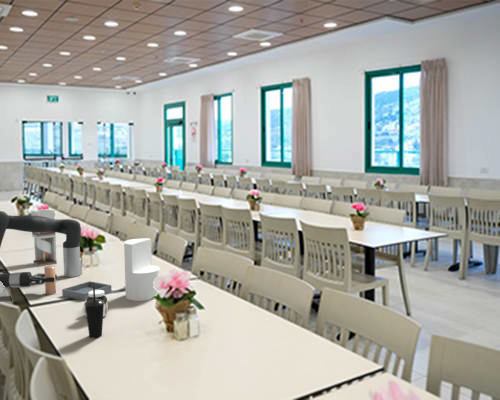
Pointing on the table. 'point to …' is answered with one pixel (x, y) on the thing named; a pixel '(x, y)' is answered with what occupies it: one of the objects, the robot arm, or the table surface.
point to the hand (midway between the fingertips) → (55, 278)
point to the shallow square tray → (85, 290)
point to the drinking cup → (94, 316)
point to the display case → (44, 241)
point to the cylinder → (139, 270)
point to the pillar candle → (50, 286)
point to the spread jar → (98, 295)
